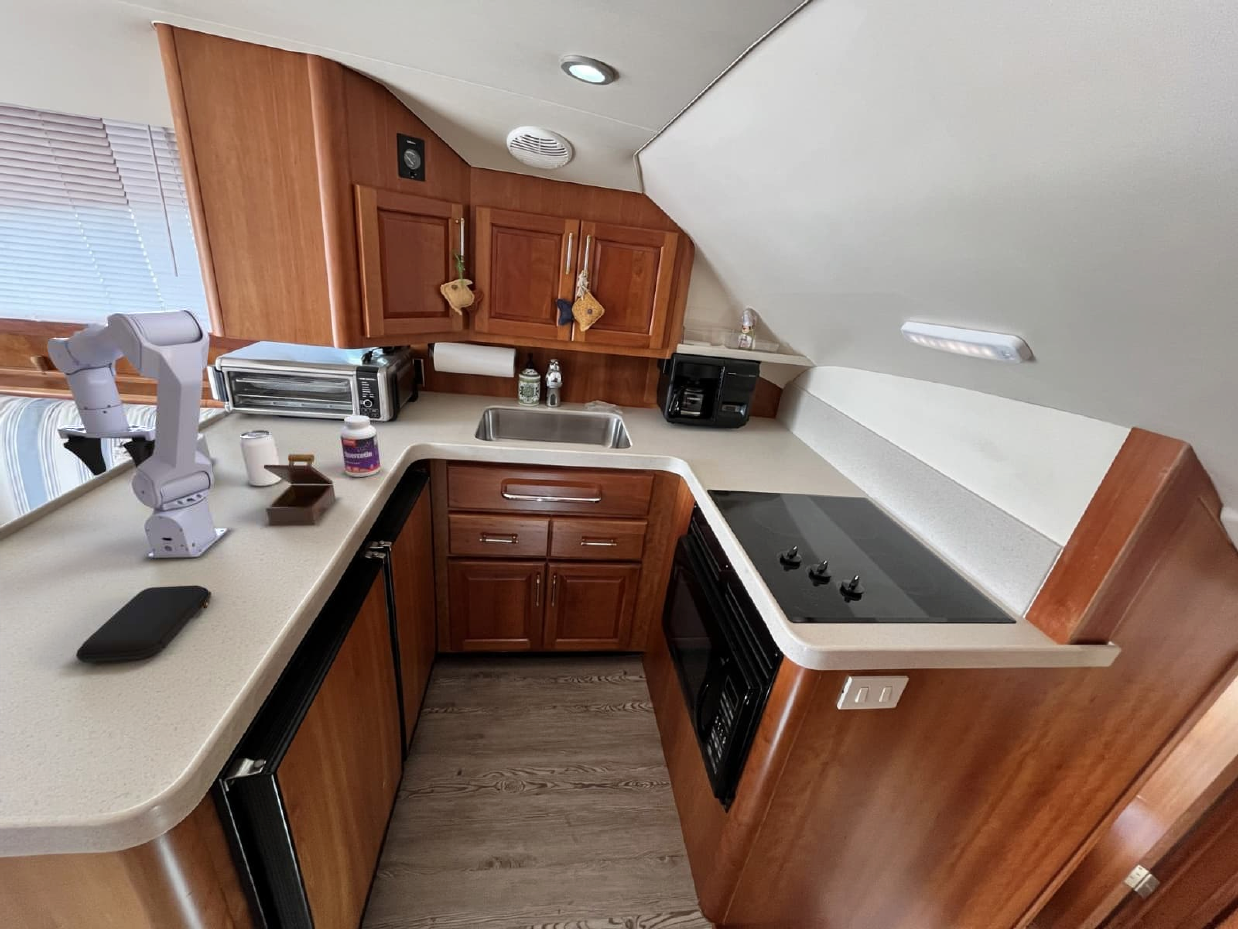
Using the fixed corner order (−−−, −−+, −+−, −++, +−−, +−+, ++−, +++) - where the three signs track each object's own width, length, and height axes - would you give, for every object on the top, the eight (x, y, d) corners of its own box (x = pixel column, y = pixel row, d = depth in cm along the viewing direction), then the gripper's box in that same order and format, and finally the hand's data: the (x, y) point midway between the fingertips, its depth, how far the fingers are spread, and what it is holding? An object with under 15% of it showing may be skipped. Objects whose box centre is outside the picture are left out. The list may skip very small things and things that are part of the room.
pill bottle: (342, 479, 121) (333, 424, 115) (349, 466, 128) (342, 413, 123) (378, 478, 123) (371, 423, 118) (383, 465, 130) (377, 413, 125)
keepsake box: (315, 524, 101) (312, 508, 100) (269, 524, 100) (265, 508, 98) (335, 499, 112) (333, 484, 110) (294, 499, 110) (291, 484, 109)
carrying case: (165, 663, 67) (224, 595, 80) (159, 646, 65) (220, 579, 79) (71, 670, 64) (148, 598, 78) (63, 652, 63) (142, 582, 77)
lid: (310, 468, 99) (313, 446, 100) (263, 468, 97) (267, 445, 99) (332, 484, 110) (335, 464, 111) (290, 484, 108) (294, 464, 110)
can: (266, 488, 114) (255, 440, 109) (242, 484, 115) (230, 436, 110) (288, 478, 119) (279, 431, 115) (266, 473, 120) (255, 427, 116)
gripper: (161, 400, 93) (180, 465, 98) (72, 397, 91) (96, 464, 96) (132, 411, 87) (155, 480, 92) (36, 408, 84) (64, 479, 89)
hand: (123, 473), depth 93 cm, fingers open, 7 cm apart
